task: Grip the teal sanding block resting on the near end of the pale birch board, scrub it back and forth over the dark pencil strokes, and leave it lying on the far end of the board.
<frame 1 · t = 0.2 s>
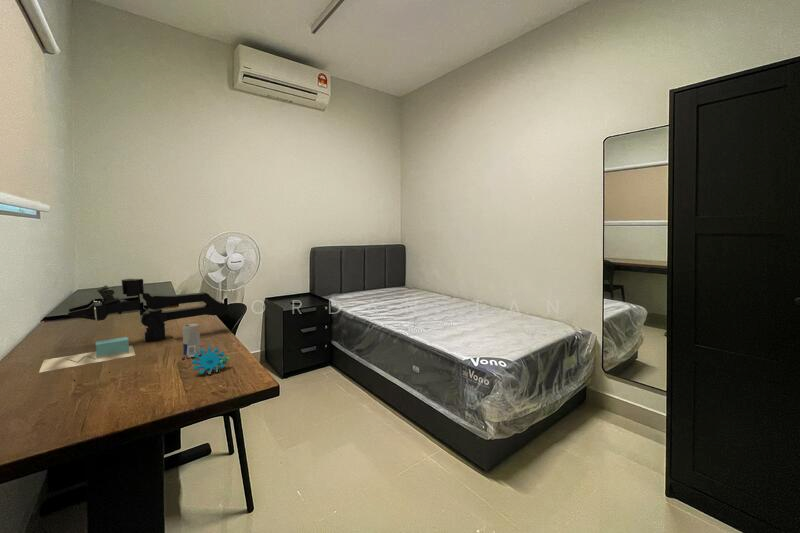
hand: (68, 312, 121), 16 cm above the table, tool horizontal, fingers open, 9 cm apart
energy drink: (192, 356, 124), on the table
sanding block: (113, 353, 122), point 1 cm above the table, touching board
board: (91, 360, 118), on the table
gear: (211, 371, 111), on the table
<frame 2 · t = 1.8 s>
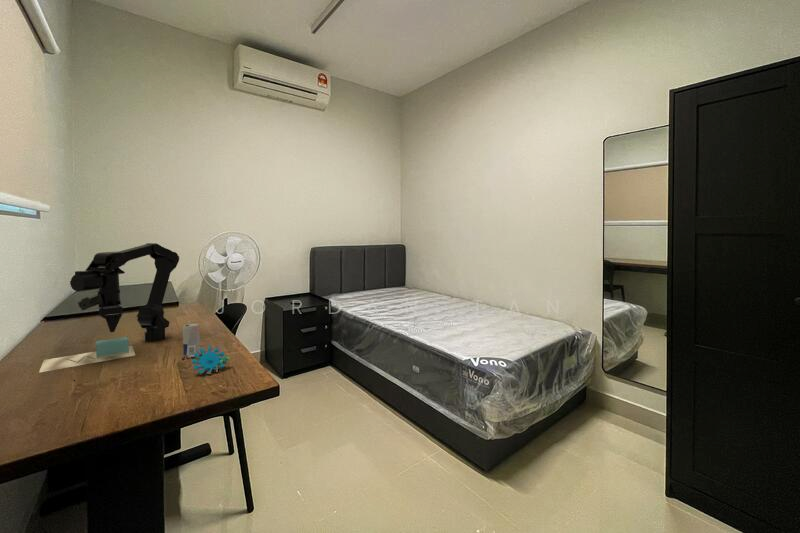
hand: (111, 329, 121), 10 cm above the table, tool pointing down, fingers open, 9 cm apart
nothing on the table moved.
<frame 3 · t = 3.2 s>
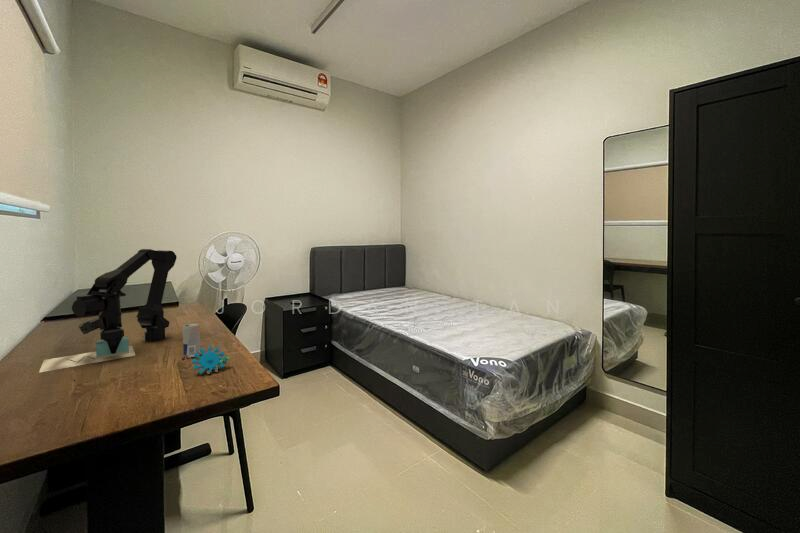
hand: (112, 351, 122), 2 cm above the table, tool pointing down, fingers closed on sanding block, 5 cm apart
sanding block: (113, 353, 122), point 1 cm above the table, touching board, gripper
everything else where it was.
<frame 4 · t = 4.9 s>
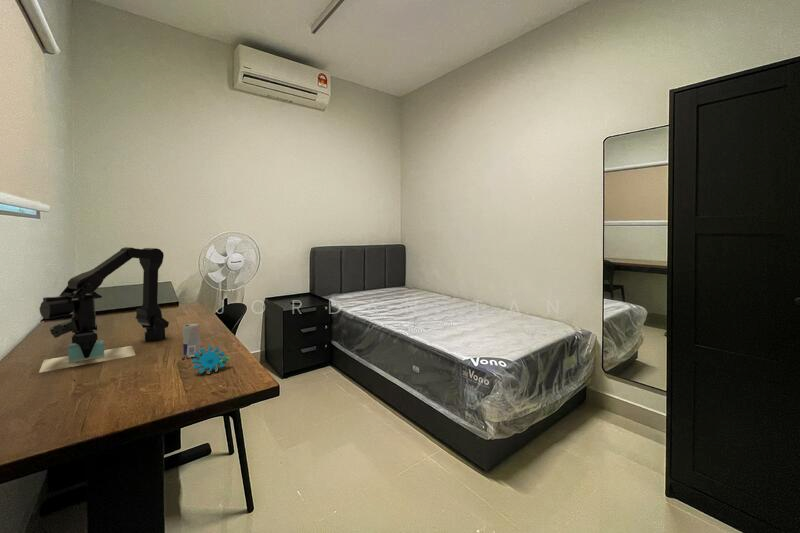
hand: (86, 355, 117), 2 cm above the table, tool pointing down, fingers closed on sanding block, 5 cm apart
sanding block: (87, 357, 117), point 1 cm above the table, touching gripper
everything else where it was.
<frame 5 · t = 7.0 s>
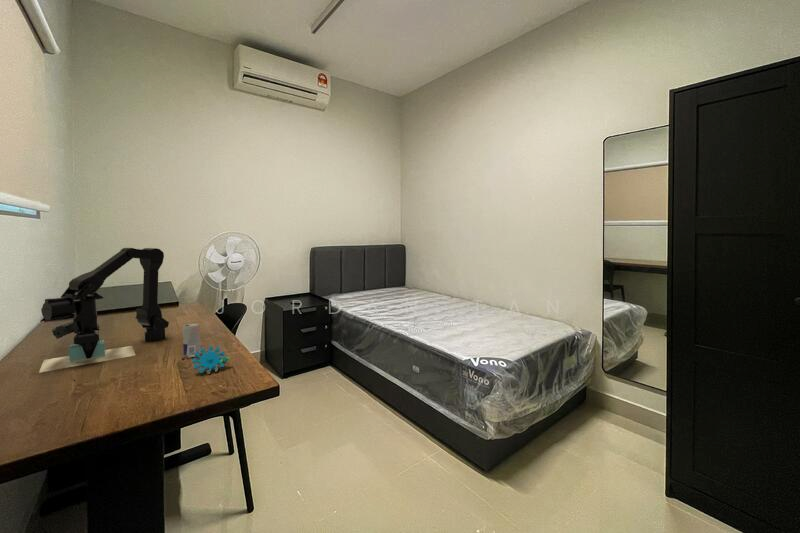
hand: (89, 356, 118), 2 cm above the table, tool pointing down, fingers closed on sanding block, 5 cm apart
sanding block: (88, 357, 117), point 1 cm above the table, touching gripper
everything else where it was.
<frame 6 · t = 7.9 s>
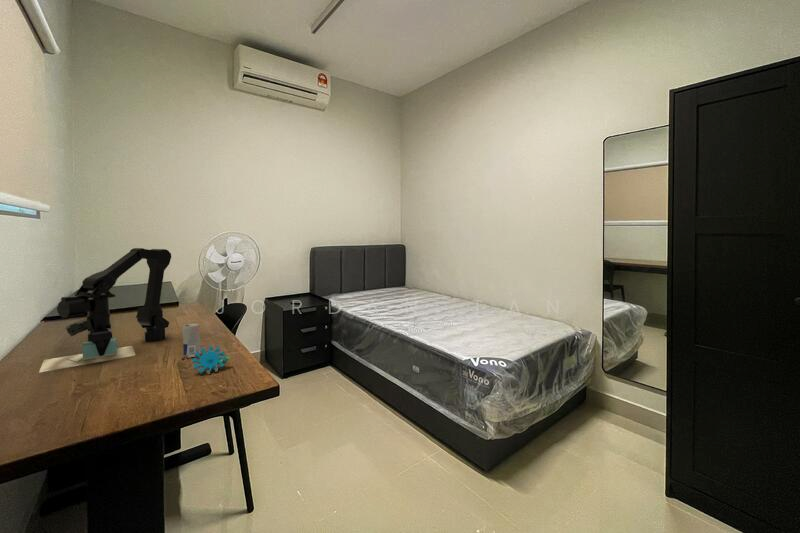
hand: (101, 353, 120), 2 cm above the table, tool pointing down, fingers closed on sanding block, 5 cm apart
sanding block: (100, 355, 119), point 1 cm above the table, touching gripper
everything else where it was.
when the fingers open (2 cm above the table, at t = 10.5 s): sanding block stays where it is, resting on board.
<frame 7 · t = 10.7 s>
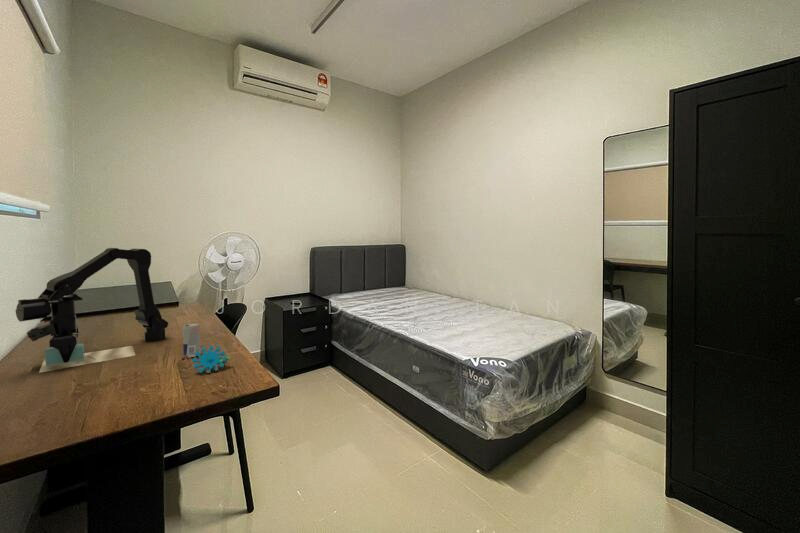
hand: (66, 359, 114), 2 cm above the table, tool pointing down, fingers open, 6 cm apart
sanding block: (65, 361, 114), point 1 cm above the table, touching board
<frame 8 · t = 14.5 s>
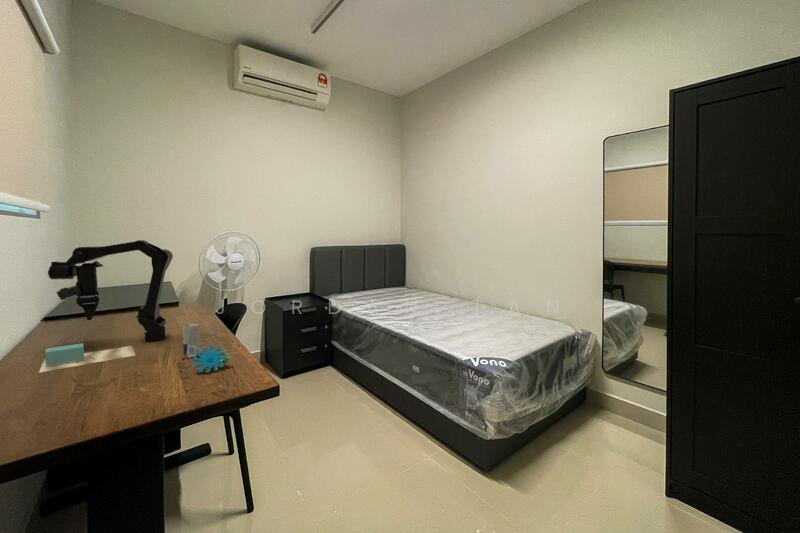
hand: (89, 317, 131), 12 cm above the table, tool pointing down, fingers open, 9 cm apart
at the end: sanding block 0.2 cm from the target spot on the board, point 1.2 cm above the board's base; sanding block touching board; sanding block tilted 0° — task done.
